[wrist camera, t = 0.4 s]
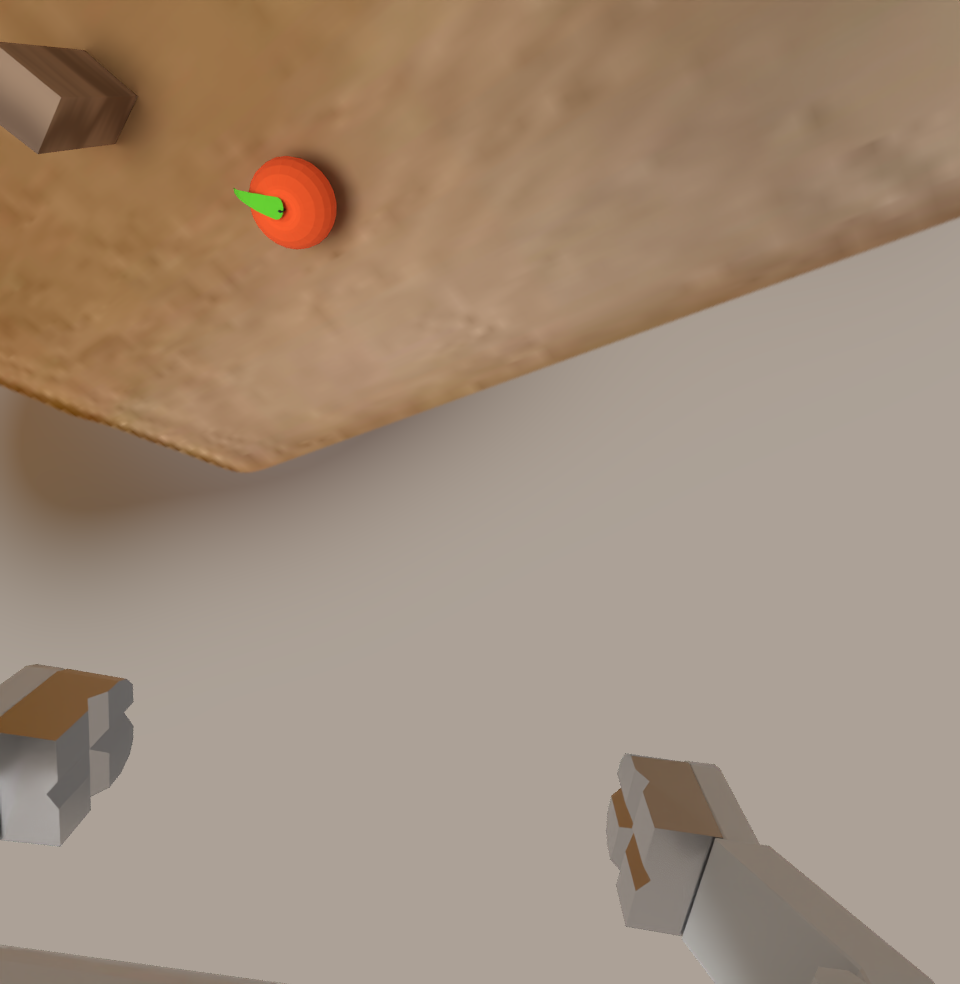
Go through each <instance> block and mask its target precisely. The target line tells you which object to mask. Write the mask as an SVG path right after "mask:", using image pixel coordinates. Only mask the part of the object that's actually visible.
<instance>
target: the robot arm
mask: <svg viewBox="0 0 960 984" xmlns="http://www.w3.org/2000/svg"><path fill="white" fill-rule="evenodd" d="M132 703H133V684H132V683H131V682H129V681H128V680H127V679H124V678H118V677H113V676H107V675H101V674H95V673H89V672H83V671H78V670H72V669H63V668H58V667H52V666H45V665H39V664H35V665H29V666H25V667H24V668H23V669H21V670H20V671H19V672H17V673H16V674H14V675H13V676H12V677H10V678H9V679H8V680H6V681H5V682H3V683H2V684H1V685H0V840H4V841H13V842H22V843H31V844H41V845H50V846H59V847H60V846H61V845H62V844H63V843H64V841H65V840H66V839H67V838H68V837H69V836H70V834H71V833H72V832H73V831H74V829H75V828H76V827H77V826H78V825H79V824H80V822H81V821H82V820H83V819H84V818H85V816H86V815H87V814H88V813H89V811H90V810H91V806H90V805H91V804H90V803H91V801H90V797H91V796H93V795H95V794H97V793H99V792H101V791H103V790H105V789H107V788H109V787H110V786H111V784H112V783H113V782H114V781H115V780H116V778H117V777H118V776H119V775H120V773H121V772H122V769H123V767H124V765H125V763H126V761H127V759H128V757H129V755H130V750H131V746H132V742H133V725H132V723H131V722H130V720H129V719H128V718H127V716H126V715H125V713H124V712H125V711H126V709H127V708H128V707H129V706H130V705H131V704H132ZM617 774H618V778H619V782H620V785H621V788H620V789H619V790H618V791H617V792H615V793H614V794H613V795H612V796H611V800H610V804H609V808H608V813H607V828H606V833H607V844H608V850H609V855H610V860H611V861H612V862H613V863H614V864H615V865H616V866H617V867H618V869H619V870H620V873H619V877H618V880H617V884H616V887H617V891H618V895H619V899H620V904H621V908H622V913H623V917H624V921H625V926H626V927H632V928H638V929H643V930H649V931H656V932H661V933H667V934H672V935H678V936H682V940H683V942H684V943H685V944H686V945H687V947H688V948H689V949H690V951H691V952H692V953H693V955H694V956H695V958H696V959H697V960H698V962H699V963H700V964H701V965H702V967H703V968H704V970H705V971H706V972H707V974H708V975H709V976H710V978H711V979H712V980H713V981H714V983H715V984H935V983H934V982H933V981H932V980H931V979H930V978H929V977H928V976H926V975H925V974H924V973H923V972H921V971H920V970H919V969H918V968H917V967H915V966H914V965H913V964H912V963H911V962H910V961H908V960H907V959H906V958H905V957H903V956H902V955H901V954H900V953H899V952H897V951H896V950H895V949H894V948H892V947H891V946H890V945H888V943H886V942H885V941H884V940H883V939H882V938H880V937H879V936H878V935H877V934H876V933H874V932H873V931H872V930H871V929H869V928H868V927H867V926H866V925H865V924H863V923H862V922H861V921H860V920H859V919H857V918H856V917H855V916H853V915H852V914H851V913H850V912H849V911H848V910H846V909H845V908H844V907H843V906H841V905H840V904H839V903H838V902H837V901H835V900H834V899H833V898H832V897H831V896H829V895H828V894H827V893H826V892H825V891H823V890H822V889H821V888H820V887H819V886H817V885H816V884H815V883H814V882H812V881H811V880H810V879H809V878H808V877H806V876H805V875H804V874H803V873H802V872H800V871H799V870H798V869H797V868H795V867H794V866H793V865H792V864H791V863H789V862H788V861H787V860H786V859H785V858H783V857H782V856H781V855H780V854H778V853H777V852H776V851H775V850H774V849H772V848H771V847H770V846H766V845H760V844H759V842H758V840H757V838H756V836H755V834H754V832H753V830H752V829H751V827H750V825H749V823H748V821H747V819H746V817H745V815H744V813H743V811H742V810H741V808H740V806H739V804H738V802H737V800H736V798H735V796H734V794H733V792H732V791H731V789H730V787H729V785H728V783H727V781H726V779H725V777H724V775H723V774H722V772H721V770H720V768H718V767H717V766H716V765H715V764H707V763H699V762H690V761H684V762H681V761H675V760H668V759H661V758H653V757H647V756H640V755H632V754H626V753H625V755H624V756H623V758H622V760H621V762H620V766H619V769H618V773H617ZM0 984H285V983H278V982H270V981H263V980H255V979H248V978H240V977H234V976H226V975H219V974H212V973H204V972H196V971H190V970H182V969H175V968H167V967H160V966H153V965H145V964H138V963H131V962H124V961H116V960H109V959H102V958H94V957H87V956H80V955H72V954H65V953H58V952H50V951H43V950H36V949H28V948H20V947H14V946H6V945H0Z"/></svg>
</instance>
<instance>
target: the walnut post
mask: <svg viewBox="0 0 960 984" xmlns="http://www.w3.org/2000/svg"><path fill="white" fill-rule="evenodd" d="M137 97H138V96H137V95H135V94H134V93H133V92H132V91H131V90H130V89H128V88H127V87H126V86H125V85H124V84H123V83H121V82H120V81H119V80H118V79H117V78H116V77H114V76H113V75H112V74H111V73H110V72H109V71H107V70H106V69H105V68H104V67H103V66H102V65H100V64H99V63H98V62H97V61H96V60H95V59H94V58H92V57H91V56H90V55H89V54H88V53H87V52H85V51H84V50H77V49H67V48H57V47H46V46H36V45H26V44H16V43H6V42H0V125H1V126H2V127H3V128H5V129H6V130H7V131H9V132H10V133H11V134H12V135H14V136H15V137H16V138H18V139H19V140H20V141H22V142H23V143H24V144H25V145H27V146H28V147H29V148H31V149H32V150H33V151H34V152H36V153H37V154H42V153H49V152H57V151H64V150H72V149H80V148H87V147H95V146H102V145H110V144H115V143H116V141H117V139H118V137H119V135H120V133H121V131H122V128H123V126H124V124H125V122H126V120H127V118H128V116H129V114H130V112H131V110H132V108H133V105H134V103H135V101H136V99H137Z"/></svg>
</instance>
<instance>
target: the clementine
mask: <svg viewBox="0 0 960 984" xmlns="http://www.w3.org/2000/svg"><path fill="white" fill-rule="evenodd" d="M234 193H235V194H236V196H237V197H238V198H239V199H240V200H241V201H243V202H244V203H245V204H247V205H248V206H249V207H250V208H251V212H252V215H253V218H254V220H255V221H256V223H257V225H258V227H259V228H260V229H261V230H262V231H263V233H264V234H265V235H266V236H267V237H268V238H270V239H271V240H272V241H274V242H275V243H277V244H279V245H281V246H284V247H286V248H291V249H304V248H309V247H312V246H314V245H317V244H319V243H320V242H321V241H322V240H324V239H325V238H326V237H327V236H328V234H329V232H330V231H331V229H332V227H333V225H334V221H335V218H336V199H335V195H334V191H333V189H332V187H331V185H330V183H329V181H328V179H327V178H326V177H325V175H324V174H323V173H322V172H321V171H320V170H319V169H318V168H317V167H315V166H314V165H313V164H312V163H310V162H307V161H305V160H303V159H301V158H295V157H290V156H283V157H276V158H274V159H272V160H269V161H267V162H266V163H265V164H264V165H263V166H262V167H261V168H260V169H259V170H258V171H257V172H256V173H255V175H254V177H253V179H252V181H251V184H250V189H249V192H244V191H240V190H236V189H235V188H234Z"/></svg>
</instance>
